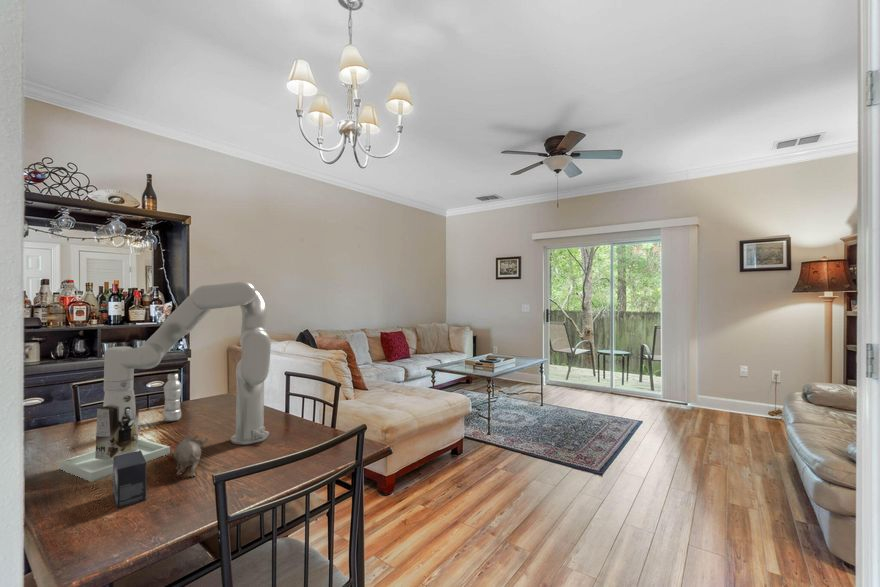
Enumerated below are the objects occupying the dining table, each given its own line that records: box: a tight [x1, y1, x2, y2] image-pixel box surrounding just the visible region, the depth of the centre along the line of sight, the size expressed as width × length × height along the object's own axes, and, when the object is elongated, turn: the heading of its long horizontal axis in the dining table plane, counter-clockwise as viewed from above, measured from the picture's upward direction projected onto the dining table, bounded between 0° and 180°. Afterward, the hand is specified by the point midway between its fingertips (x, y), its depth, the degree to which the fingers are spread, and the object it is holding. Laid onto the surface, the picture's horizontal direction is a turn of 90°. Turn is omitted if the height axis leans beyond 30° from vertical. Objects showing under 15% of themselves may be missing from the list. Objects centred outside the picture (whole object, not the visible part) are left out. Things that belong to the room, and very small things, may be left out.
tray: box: [58, 437, 171, 483], centre depth 127 cm, size 18×22×3 cm
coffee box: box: [95, 401, 140, 461], centre depth 127 cm, size 9×6×16 cm
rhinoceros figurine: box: [173, 435, 208, 478], centre depth 123 cm, size 8×14×15 cm
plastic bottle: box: [162, 373, 183, 422], centre depth 168 cm, size 6×7×20 cm
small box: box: [112, 450, 147, 509], centre depth 106 cm, size 11×6×10 cm, turn 45°
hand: (117, 438), depth 127 cm, fingers closed on coffee box, 7 cm apart
